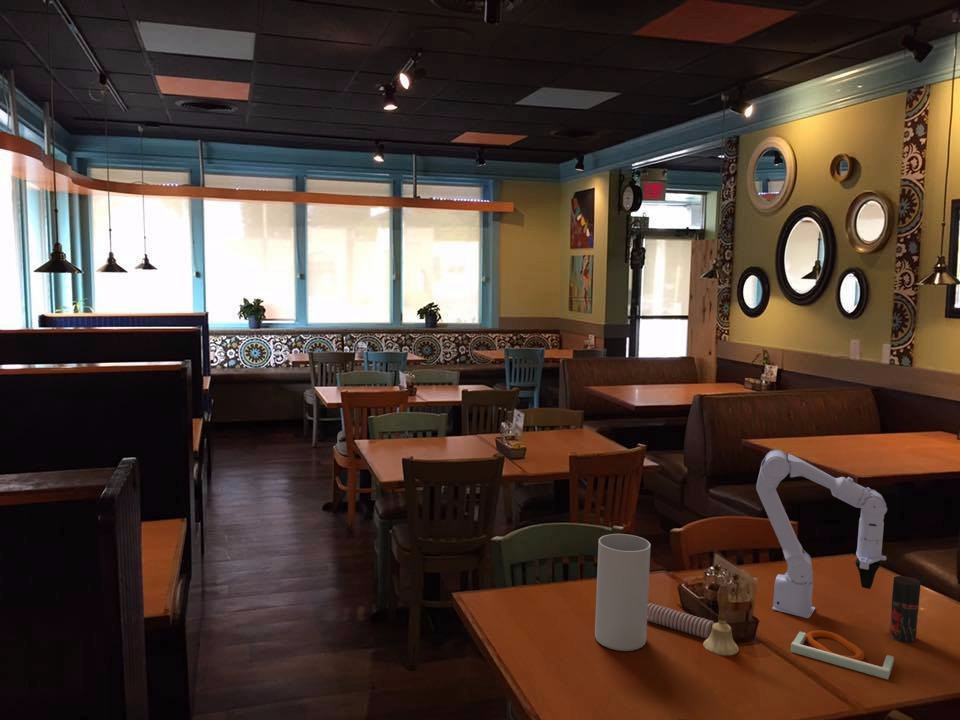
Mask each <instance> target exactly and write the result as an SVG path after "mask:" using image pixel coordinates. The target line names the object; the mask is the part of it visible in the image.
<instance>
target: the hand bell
mask: <svg viewBox="0 0 960 720" xmlns="http://www.w3.org/2000/svg"><path fill="white" fill-rule="evenodd" d="M716 599H717V606H718V618H717V619H718V622H714V624H713V626H712V625H711V633H710V636H709V638H707V639H705V640H704V641H703V643H702V645H703V648H705V650H706V651H708V652H710V653H712V654H715V655H718V656H734V655H736V654H738V652H739V650H740V649H739V647H738V645H737V643H736V642H735V640H734V638H733V634H732V631H733V630H732V626H730V625H729V624H728V623H727V621H726V620H727V614H726V612H727V607H728V604H729V592H728V588H727V584H726V583H720V585H719V588H718V591H717V595H716Z"/></svg>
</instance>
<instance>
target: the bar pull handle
mask: <svg viewBox="0 0 960 720" xmlns="http://www.w3.org/2000/svg"><path fill="white" fill-rule="evenodd" d="M806 635H807V633H806V632H803V631H799V632H798V633H797V634H796V637H795V638H794V640H793V641H792V642H791V644H790V652H791V653H795V654H798V655H799V656H800V655H801V656H804V657H807V658H811V659H815V660H819V661H822V662H824V663H825V662H826V663H829V664H833V665H835V666H839V667H843V668H846V669H850V670H853V671H856V672H860V673H863V674H866V675H871V676H874V677H877V678H881V679H884V680H889V677H890V675H891V673H892V670H893V666H894V660H895V657H894V656H892V655H888V654H887V655H886V656H885V659H884V662H883V665H882V666H879V665H875V664H872V663H868V662H865V661H863V660H862V661H858V660H855V659H851V658H848V657H844V656H845V655H844V656H840V655H841V654H839V655H837V654H838V653H836V654H833V653H830V652H826V651H823V650H819V649H815V648H814V647H812V646H807V645H806V644H805V645H804V643H805V642H806Z"/></svg>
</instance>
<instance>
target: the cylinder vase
mask: <svg viewBox="0 0 960 720" xmlns="http://www.w3.org/2000/svg"><path fill="white" fill-rule="evenodd" d="M651 546H652V545H651V543H650V542H649V541H648V540H647V539H645V538H644V537H640V536H637V535H632V534H628V533H627V534H623V533H611V534H606V535H602V536H601V537H600V538H598V546H597V547H598V548H597V549H598V550H597V571H596V572H597V573H596V596H595V597H596V598H595V600H596V601H595V621H594V623H595V625H594V637H595V639H596V641H597V642H598V643H599V644H600V645H602V646H603V647H606V648H607V649H611V650H614V651H619V652H620V651H621V652H632V651H635V650H639V649H640V648H643V646H644V645H646V642H647V631H648V630H647V629H648V620H647V616H648V613H647V611H648V612H649V610H648V604H649V588H650V587H649V583H650V563H651Z"/></svg>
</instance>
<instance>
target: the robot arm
mask: <svg viewBox="0 0 960 720" xmlns="http://www.w3.org/2000/svg"><path fill="white" fill-rule="evenodd" d="M788 475H789V478H795V477H803V478H805V479H808V480H810V481H812V482H814V483H816V484H819V485H821V486H822V487H825V488H827V489H829V490H830V492H831V495H832V496H833V497H834V498H837V499H838V500H840V501H842V502H845V503H846V504H848V505H850V506H852V507H855V508H859V509H860V517H859V520H858V532H857V534H858V535H857V545H856V546H857V547H856V552H855V555H856V557H857V558H856V559H855V561H854V562H855V566H856V568H857V570H858V573H859V581H860V585H861V587H862V588H864V589H868V590H871V589H872V586H873V583H874V580H875V576H876V573H877V571H878V569H879V568H880V567H881V565H882V561H886V560H887V555H883V554H882V553H883V552H882V551H883V550H882V549H883V539H884V538H883V537H884V525H885V522H884V519H885V514H886V513H887V512H888V507H887V503H886V501H885V499H884V497H883V495H882V494H881V493H879V492H877V490H876V489H871V488H870V487H868V486H867V487H864V486H862V485H860V484H858V483H857V482H855V481H854V478H852V477H850V476H848V477H847V478H846V477H844V476H840V477H834V476H832V475H830V474H828V472H827V473H826V472H825V471H823V470H821V469H819V468H818V467H816V466H814V465H812V464H811V463H809V462H807V461H805V460H803V459H801V458H799V457H797V456H795V455H793V454H790V453H786V452H785V451H783V450H781V449H772V450H770V451H769V452H767V453H766V454H765V457H764V458H763V459H762V461H761V463H760V469H759V473H758V477H757V480H756V481H757V482H756V486H755V488H756V492H757V494H758V497H759V499H760V501H761V503H762V506H763V507H764V510H765V512H766V515H767V517H768V520H769V522H770V524H771V526H772V528H773V531H774V533H775V536H776V537H777V540H778V542H779V545H780V547H781V548H782V553H783V556H784V559H785V562H786V564H787V565H786V566H787V569H786V572H785V573H784V574H779V573H778V574H777V575H776V577H775V582H774V588H773V601H772V602H773V603H772V605H773V606H772V610H774V611H777V612H780V613H785V614H790V615H793V616H797V617H800V618H804V619H810V618H811V616H812V614H813V613H814V612H815V610H816V607H815V606H812V601H813V592H814V591H813V589H814V578H813V575H814V570H813V567H812V563H813V562H812V558H811V555H810V554H809V553H807V551H805V549H803V546H802V544H801V543H800V540H799V539H798V537H797V535H796V532H795V530H794V528H793V526H792V523H791V521H790V519H789V516H788V514H787V513H786V509H785V507H784V506H783V504H782V501H781V499H780V496H779V493H778V491H777V488H778V486H779V484H780V482H781V481H783V480H784V479H785V478H786V477H787V476H788Z"/></svg>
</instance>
